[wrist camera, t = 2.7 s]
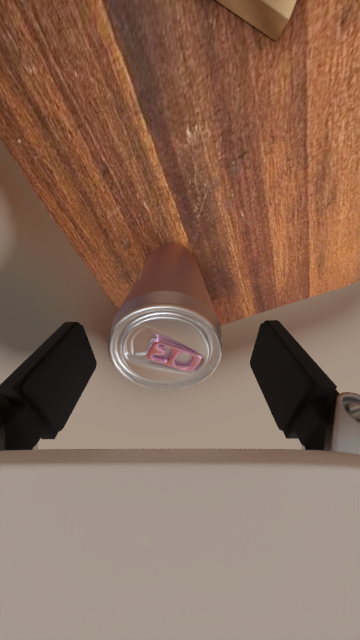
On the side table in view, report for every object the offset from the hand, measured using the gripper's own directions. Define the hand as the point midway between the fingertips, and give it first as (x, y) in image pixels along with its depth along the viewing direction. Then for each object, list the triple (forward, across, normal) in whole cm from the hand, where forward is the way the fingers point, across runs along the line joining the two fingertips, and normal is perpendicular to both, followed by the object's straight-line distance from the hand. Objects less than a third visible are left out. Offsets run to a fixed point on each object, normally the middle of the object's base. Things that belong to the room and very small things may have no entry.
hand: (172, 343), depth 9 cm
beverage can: (+14, 0, 0) cm, 14 cm away
